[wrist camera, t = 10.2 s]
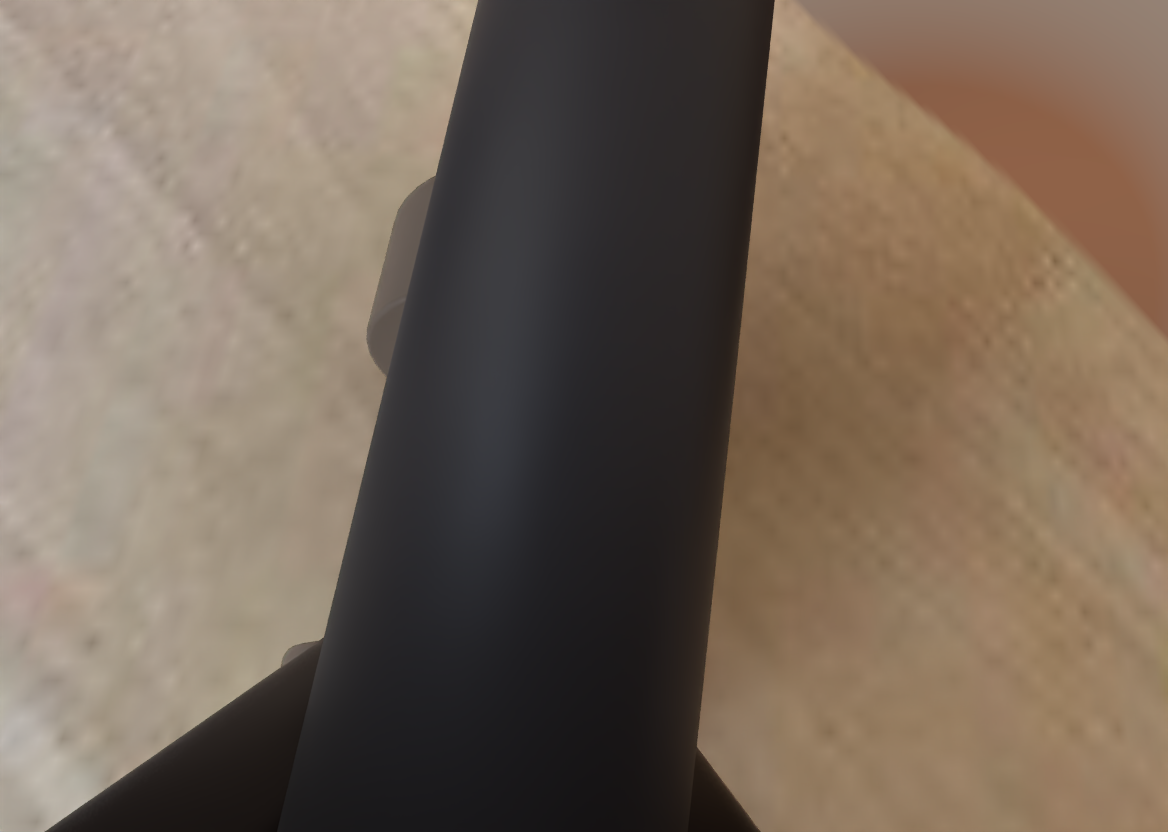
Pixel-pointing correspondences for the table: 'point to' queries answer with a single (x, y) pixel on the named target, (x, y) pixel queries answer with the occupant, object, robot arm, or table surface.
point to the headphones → (547, 435)
